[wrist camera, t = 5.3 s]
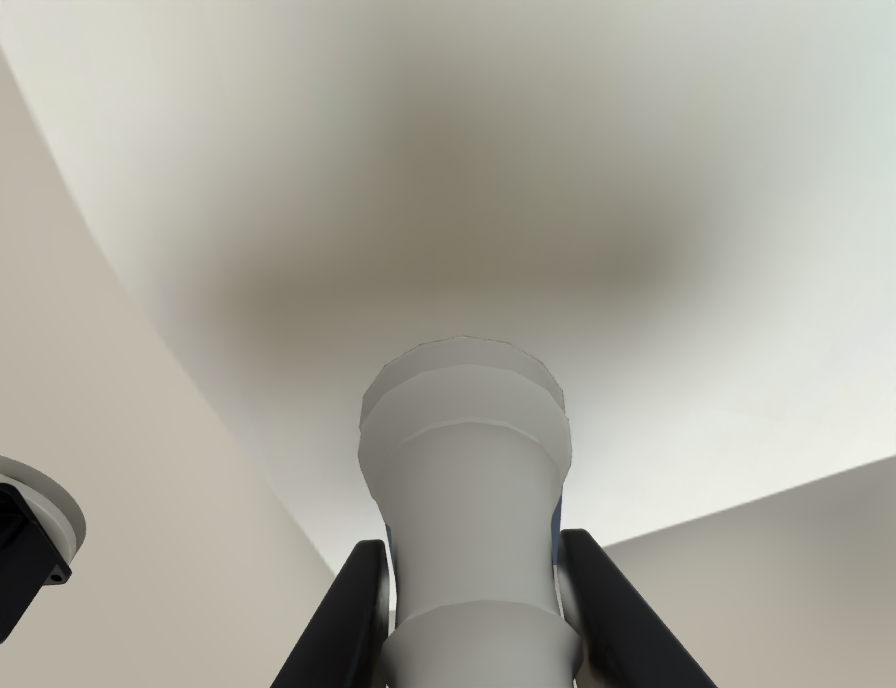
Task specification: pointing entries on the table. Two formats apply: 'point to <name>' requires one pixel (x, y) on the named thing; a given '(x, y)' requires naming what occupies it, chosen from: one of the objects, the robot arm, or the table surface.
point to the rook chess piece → (470, 515)
